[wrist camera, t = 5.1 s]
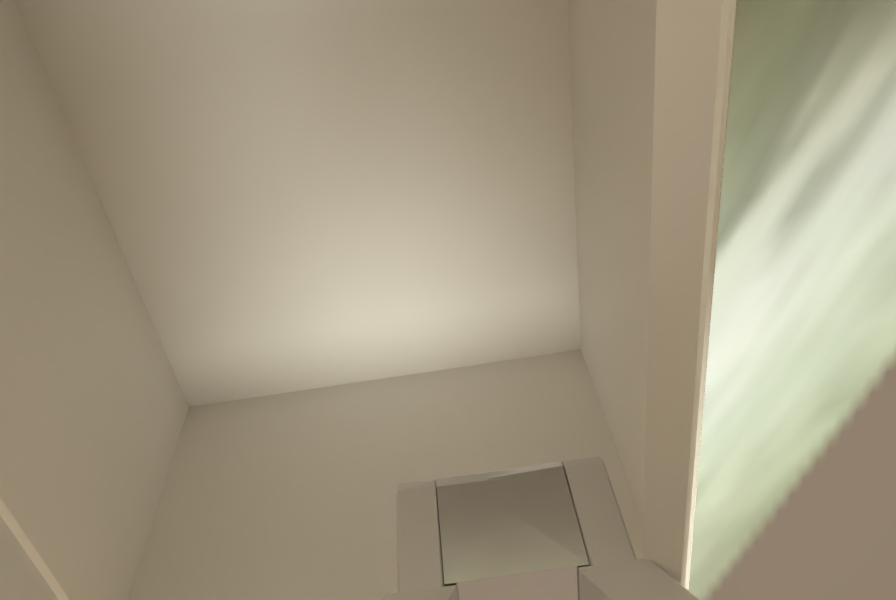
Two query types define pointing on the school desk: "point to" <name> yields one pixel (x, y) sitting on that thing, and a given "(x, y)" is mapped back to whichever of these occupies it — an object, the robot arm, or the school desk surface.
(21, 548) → the flap
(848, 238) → the school desk surface
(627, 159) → the carton
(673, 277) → the flap
